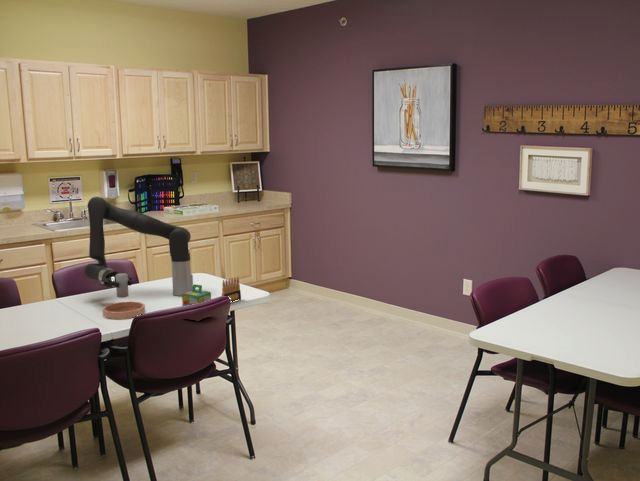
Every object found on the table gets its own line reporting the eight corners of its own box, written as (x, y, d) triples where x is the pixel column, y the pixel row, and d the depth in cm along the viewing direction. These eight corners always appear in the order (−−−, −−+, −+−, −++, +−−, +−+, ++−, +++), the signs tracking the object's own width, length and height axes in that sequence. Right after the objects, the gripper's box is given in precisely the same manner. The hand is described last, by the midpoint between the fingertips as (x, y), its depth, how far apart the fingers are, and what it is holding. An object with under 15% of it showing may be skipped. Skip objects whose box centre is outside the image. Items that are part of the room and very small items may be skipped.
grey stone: (125, 294, 282) (124, 272, 280) (130, 296, 278) (129, 274, 277) (115, 296, 279) (113, 274, 277) (119, 298, 275) (118, 276, 273)
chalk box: (182, 319, 270) (180, 286, 267) (195, 314, 278) (194, 281, 275) (199, 322, 266) (197, 288, 263) (212, 316, 274) (211, 284, 271)
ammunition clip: (224, 305, 292) (223, 280, 290) (221, 304, 293) (220, 279, 291) (241, 300, 300) (240, 276, 298) (238, 299, 301) (237, 275, 299)
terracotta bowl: (134, 305, 292) (134, 299, 292) (151, 313, 279) (151, 307, 278) (97, 312, 281) (97, 306, 281) (113, 321, 268) (112, 315, 267)
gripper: (93, 271, 283) (108, 278, 270) (124, 267, 292) (139, 273, 280) (94, 287, 285) (109, 295, 272) (124, 282, 294) (140, 289, 281)
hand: (124, 284), depth 276 cm, fingers closed on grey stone, 5 cm apart
